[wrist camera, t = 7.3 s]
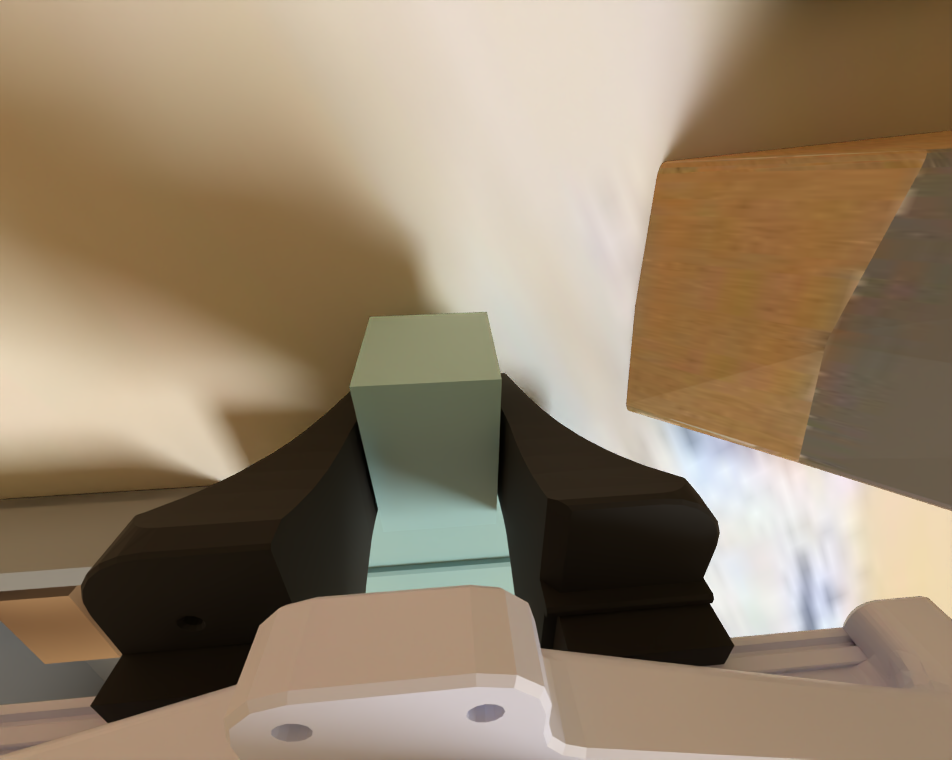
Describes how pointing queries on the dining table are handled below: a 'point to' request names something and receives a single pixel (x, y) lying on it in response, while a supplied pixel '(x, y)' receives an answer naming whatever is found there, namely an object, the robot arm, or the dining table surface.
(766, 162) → the sandwich container
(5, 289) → the dining table surface
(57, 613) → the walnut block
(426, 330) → the mint green stepped piece
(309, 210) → the dining table surface
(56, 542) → the tub
